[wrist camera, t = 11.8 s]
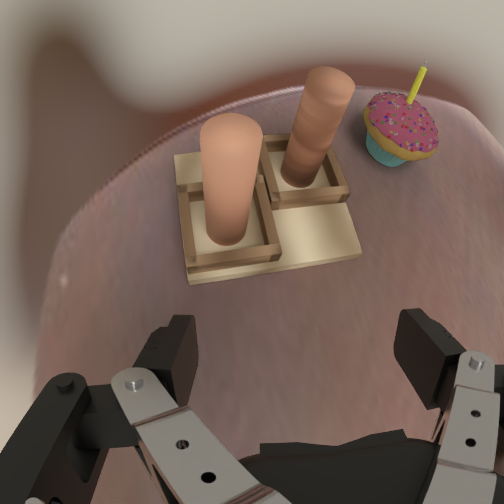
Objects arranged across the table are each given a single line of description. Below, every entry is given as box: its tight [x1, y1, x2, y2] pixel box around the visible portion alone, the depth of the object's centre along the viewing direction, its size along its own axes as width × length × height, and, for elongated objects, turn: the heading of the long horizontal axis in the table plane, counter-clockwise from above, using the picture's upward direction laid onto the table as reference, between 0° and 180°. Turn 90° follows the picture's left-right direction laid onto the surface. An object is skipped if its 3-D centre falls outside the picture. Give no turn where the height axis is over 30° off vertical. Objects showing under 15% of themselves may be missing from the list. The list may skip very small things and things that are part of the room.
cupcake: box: [363, 60, 439, 167], centre depth 27 cm, size 9×8×12 cm
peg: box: [200, 113, 263, 246], centre depth 21 cm, size 3×3×11 cm
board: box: [174, 66, 362, 285], centre depth 23 cm, size 14×12×12 cm
